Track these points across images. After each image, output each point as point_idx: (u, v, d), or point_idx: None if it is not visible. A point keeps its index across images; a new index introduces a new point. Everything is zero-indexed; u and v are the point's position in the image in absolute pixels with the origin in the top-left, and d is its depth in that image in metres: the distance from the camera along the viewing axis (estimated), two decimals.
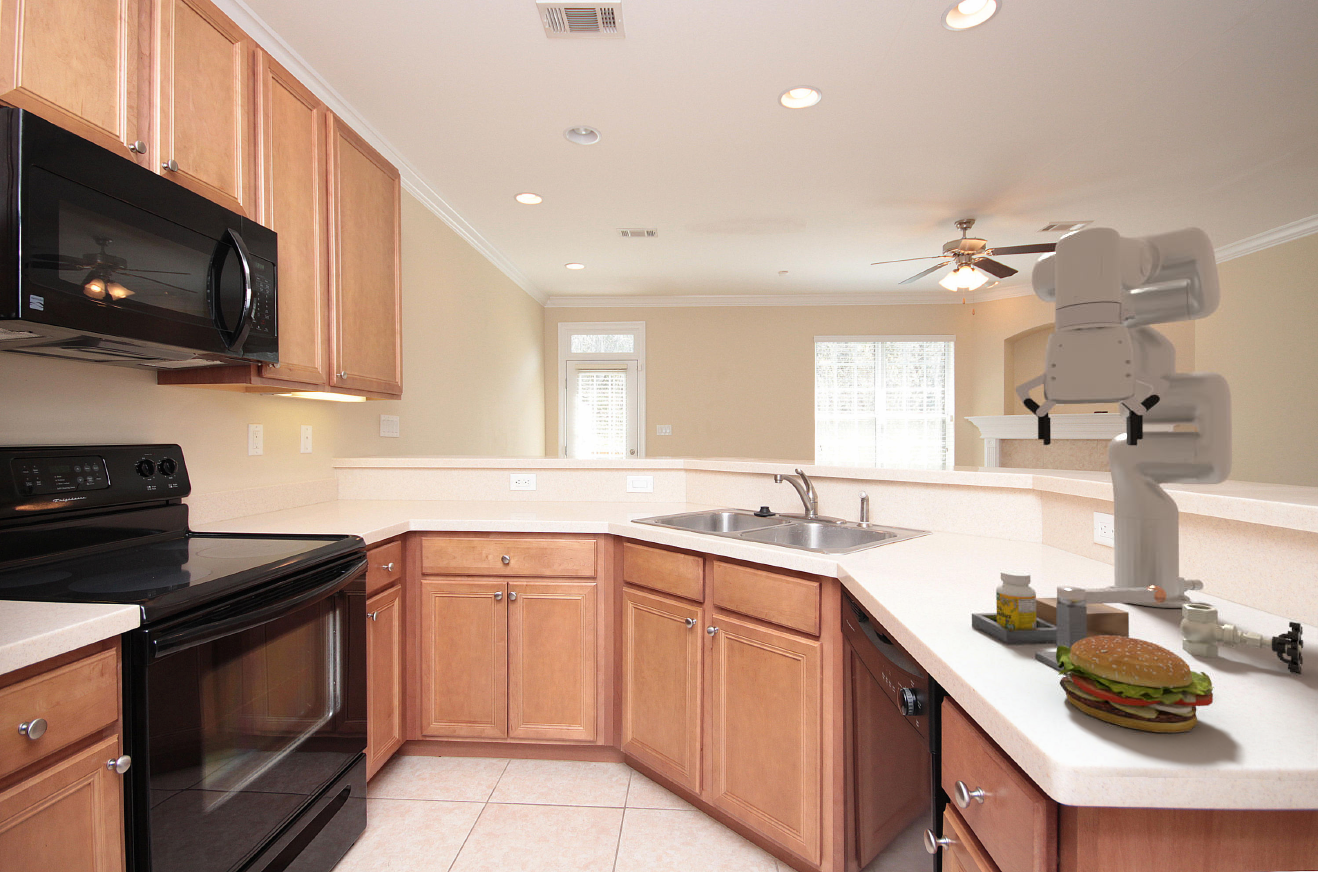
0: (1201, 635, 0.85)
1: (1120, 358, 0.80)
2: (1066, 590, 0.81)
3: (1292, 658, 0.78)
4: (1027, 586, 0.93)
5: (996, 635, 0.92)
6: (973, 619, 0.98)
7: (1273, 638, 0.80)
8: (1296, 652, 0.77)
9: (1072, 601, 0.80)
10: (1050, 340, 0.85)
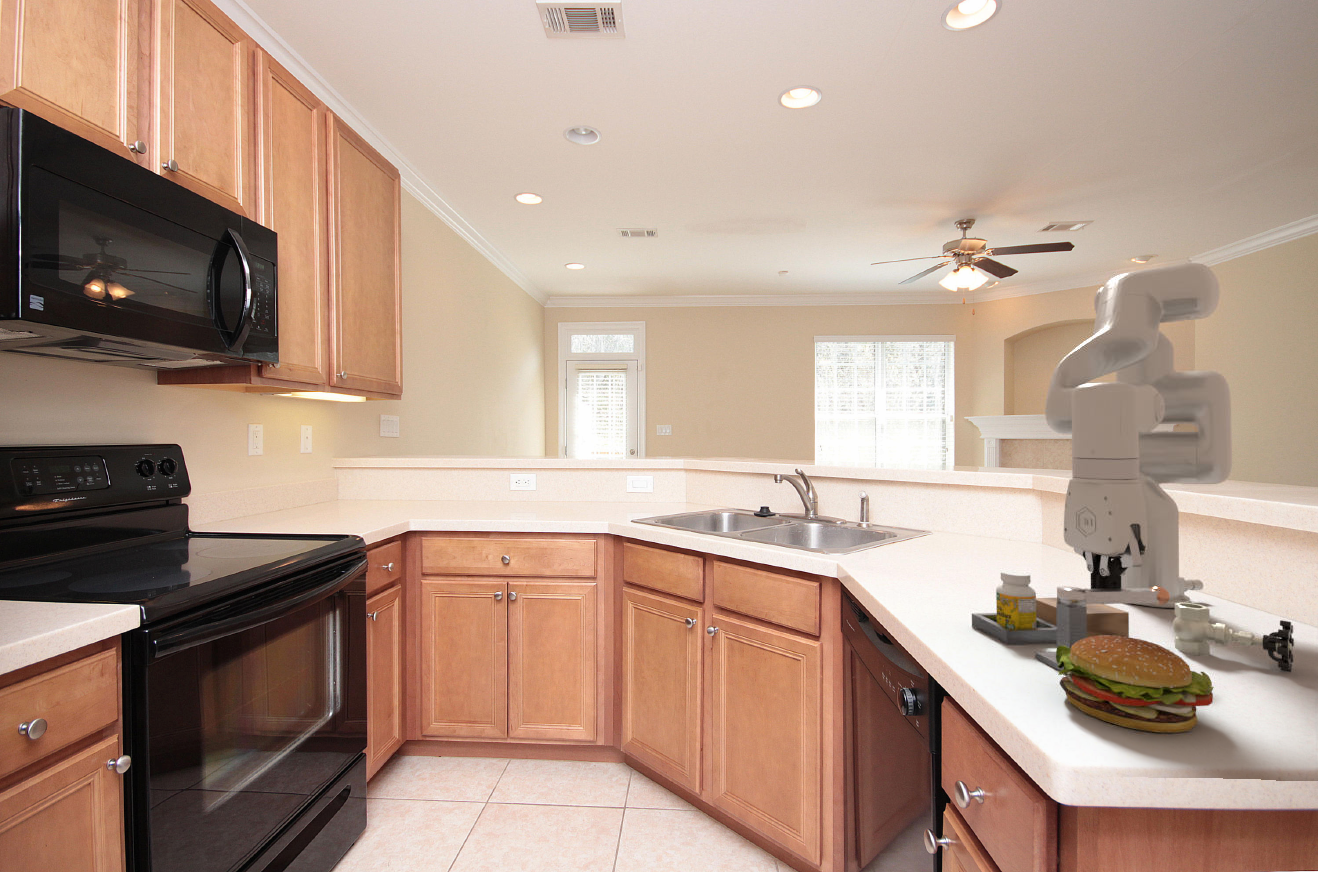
0: (1193, 633, 0.85)
1: None
2: (1066, 590, 0.81)
3: (1282, 656, 0.78)
4: (1027, 586, 0.93)
5: (996, 635, 0.92)
6: (973, 619, 0.98)
7: (1264, 636, 0.81)
8: (1286, 650, 0.77)
9: (1071, 601, 0.80)
10: (1139, 491, 0.80)
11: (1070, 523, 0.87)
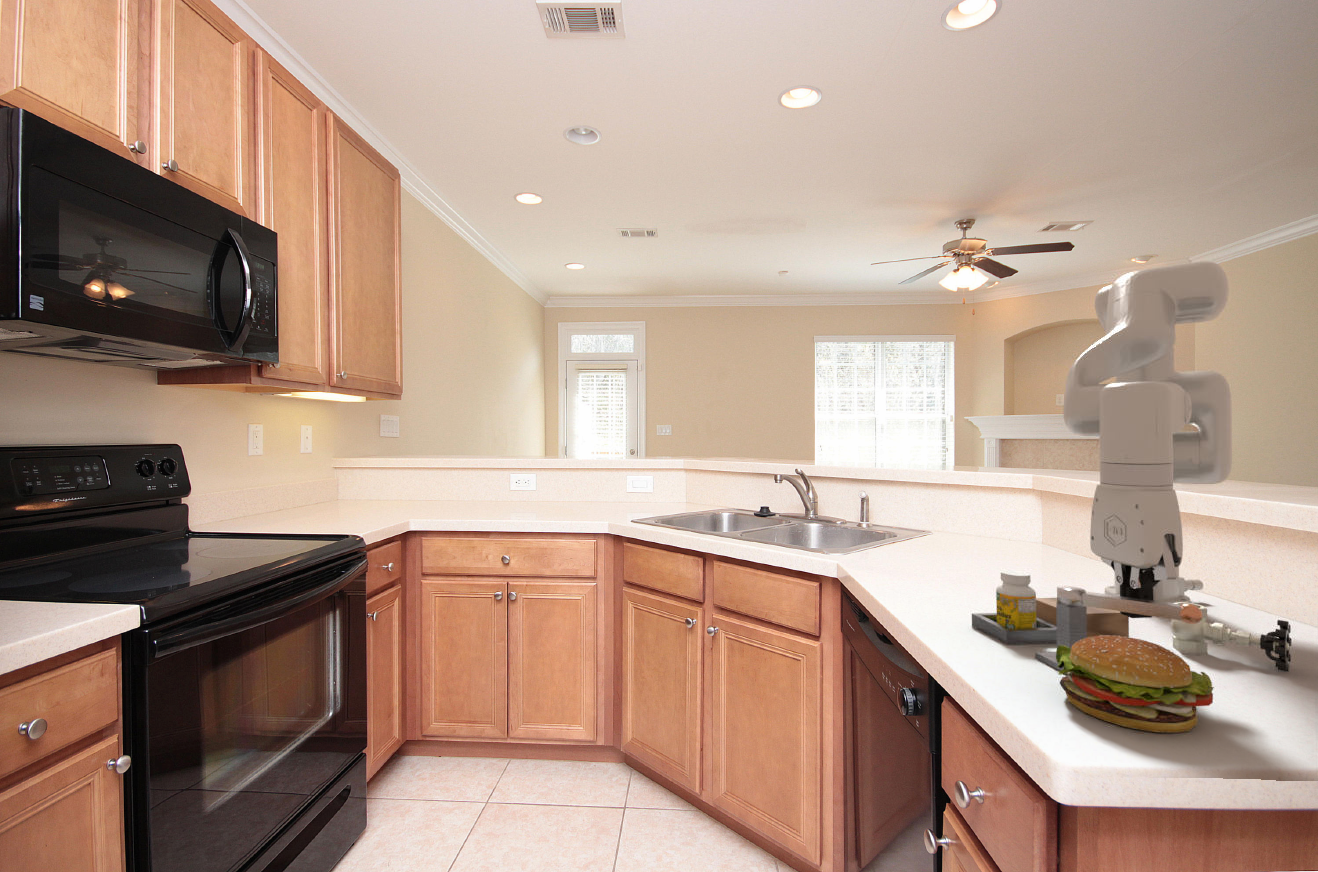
0: (1190, 633, 0.85)
1: None
2: (1060, 588, 0.82)
3: (1280, 656, 0.78)
4: (1027, 586, 0.93)
5: (996, 635, 0.92)
6: (973, 619, 0.98)
7: (1261, 636, 0.81)
8: (1284, 650, 0.77)
9: (1061, 599, 0.81)
10: (1174, 499, 0.75)
11: (1097, 531, 0.82)
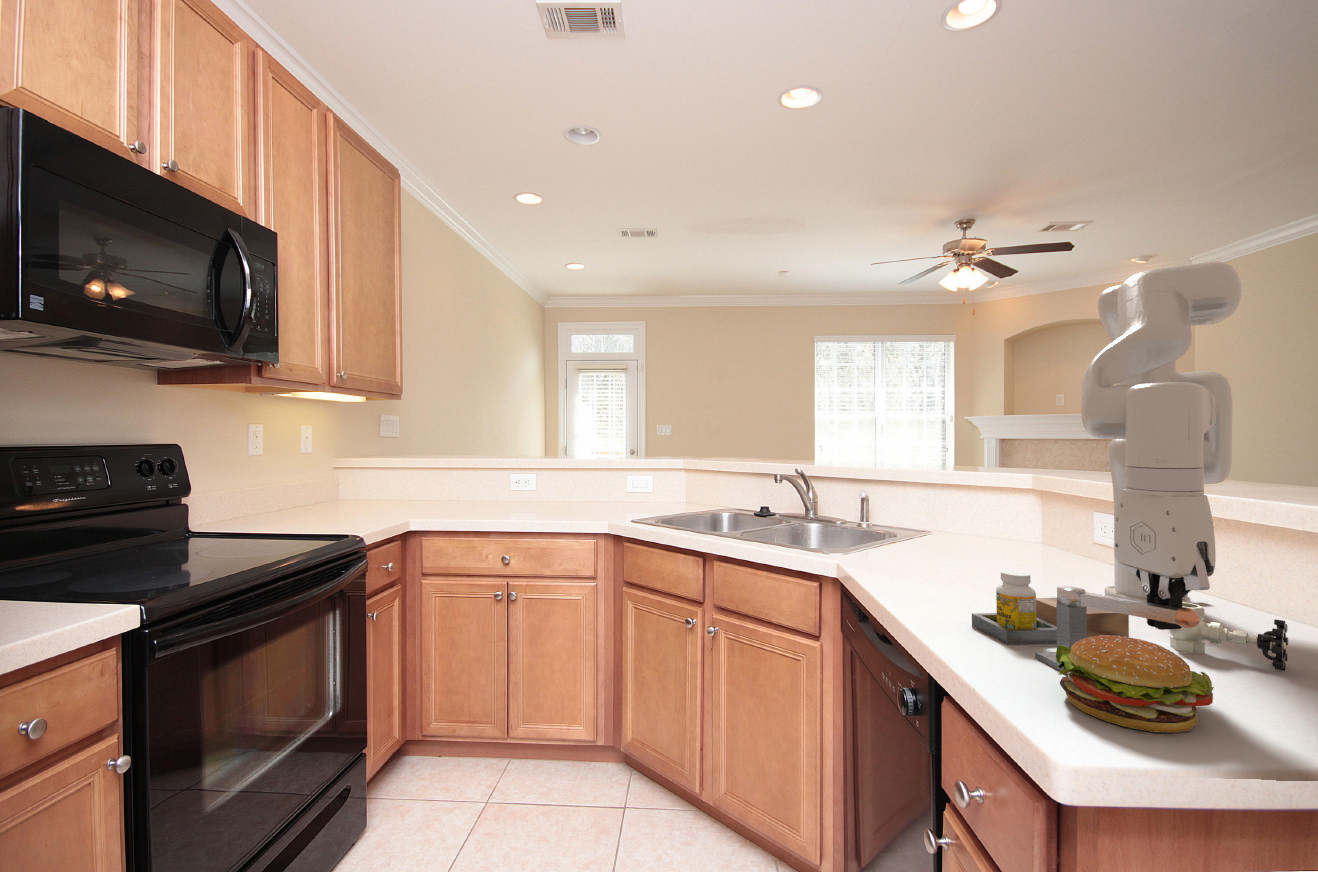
0: (1188, 632, 0.86)
1: None
2: (1060, 588, 0.82)
3: (1277, 655, 0.79)
4: (1027, 586, 0.93)
5: (996, 635, 0.92)
6: (973, 619, 0.98)
7: (1258, 635, 0.81)
8: (1280, 649, 0.78)
9: (1059, 598, 0.82)
10: (1206, 505, 0.71)
11: (1123, 539, 0.79)
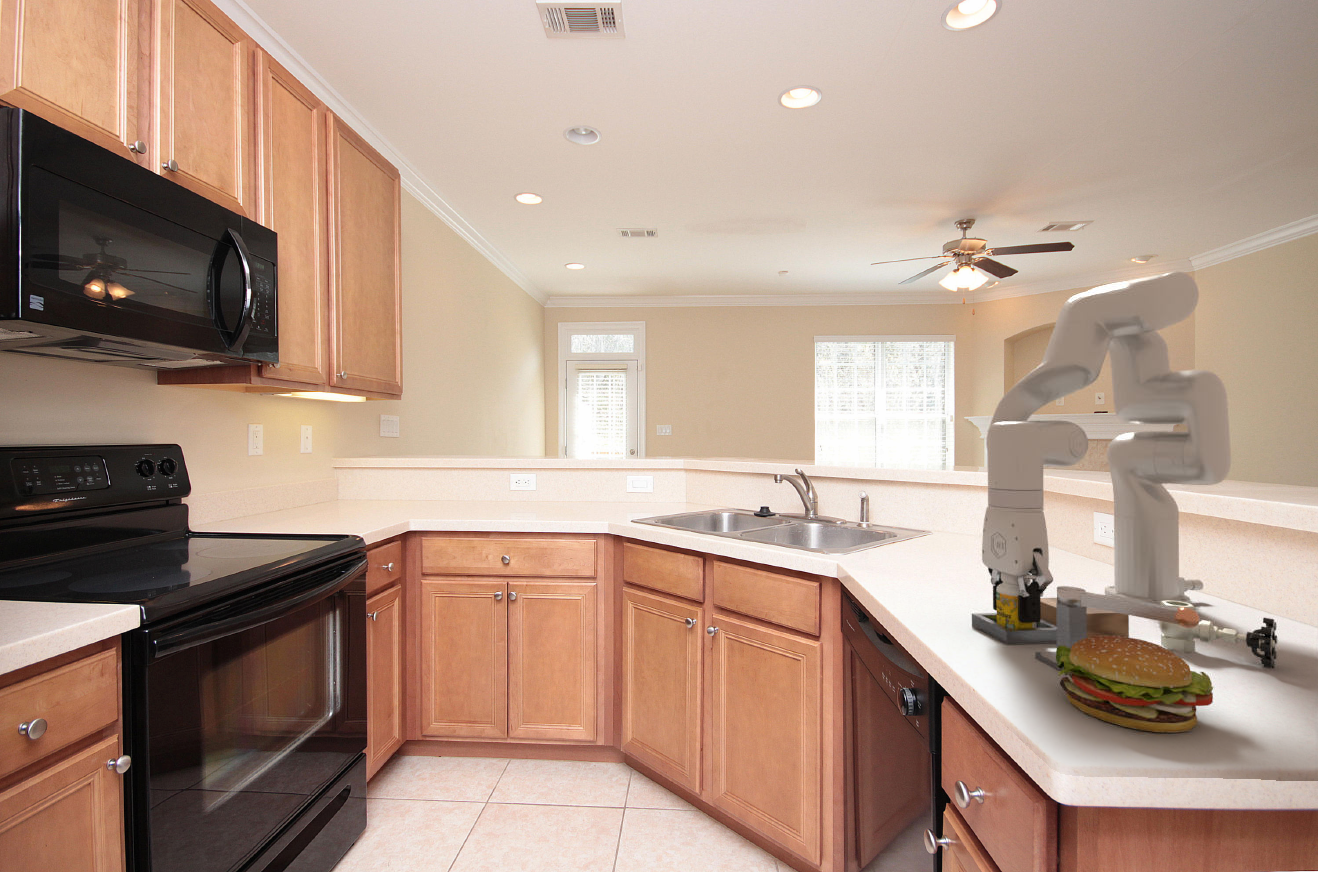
0: (1178, 630, 0.86)
1: None
2: (1060, 588, 0.82)
3: (1265, 653, 0.80)
4: None
5: (996, 635, 0.92)
6: (973, 619, 0.98)
7: (1248, 633, 0.82)
8: (1269, 647, 0.78)
9: (1059, 598, 0.82)
10: (1042, 519, 0.90)
11: (986, 546, 0.97)
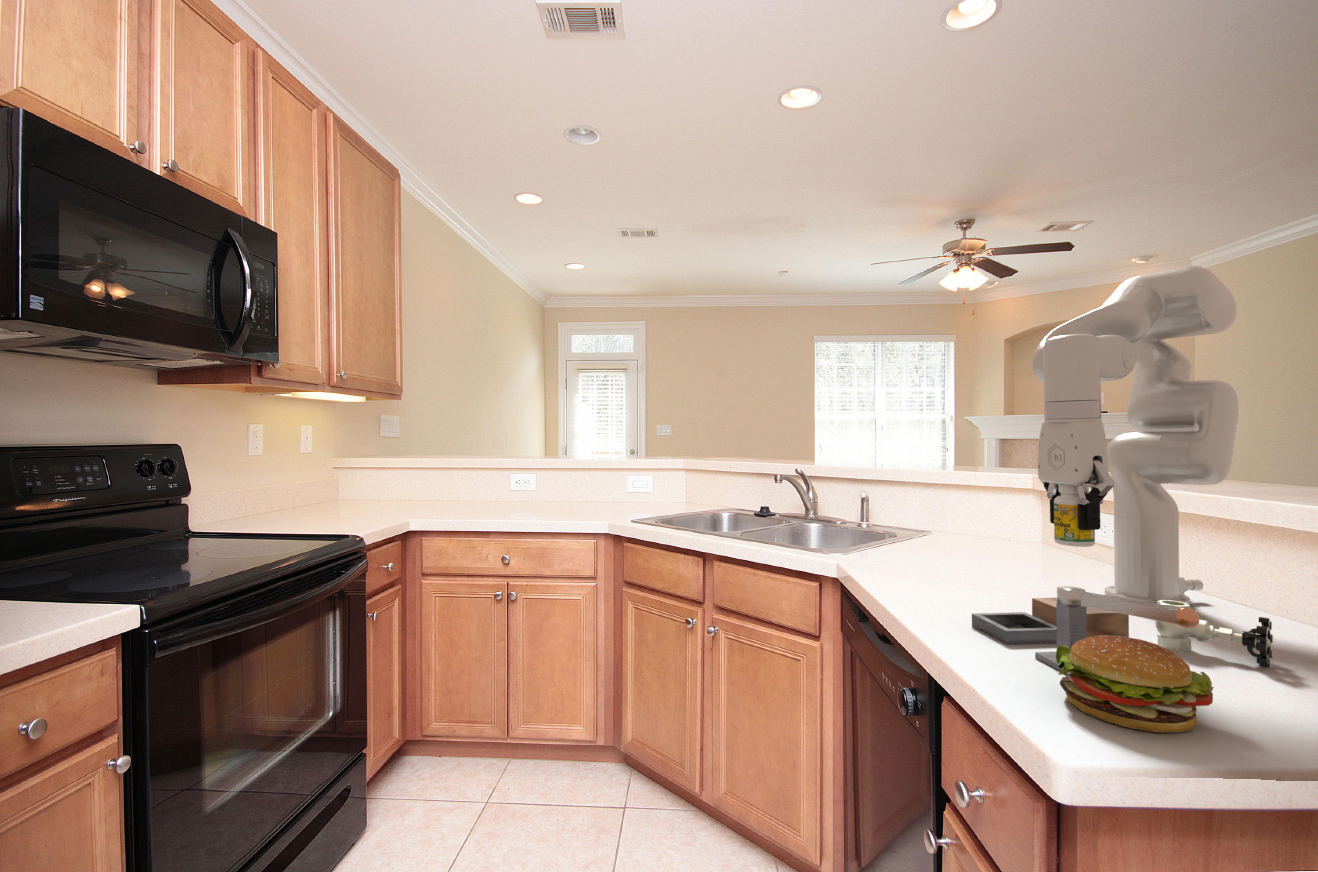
0: (1174, 630, 0.87)
1: None
2: (1060, 588, 0.82)
3: (1261, 652, 0.80)
4: None
5: (996, 635, 0.92)
6: (973, 619, 0.98)
7: (1243, 633, 0.82)
8: (1264, 646, 0.79)
9: (1059, 598, 0.82)
10: (1101, 428, 0.92)
11: (1043, 460, 0.99)
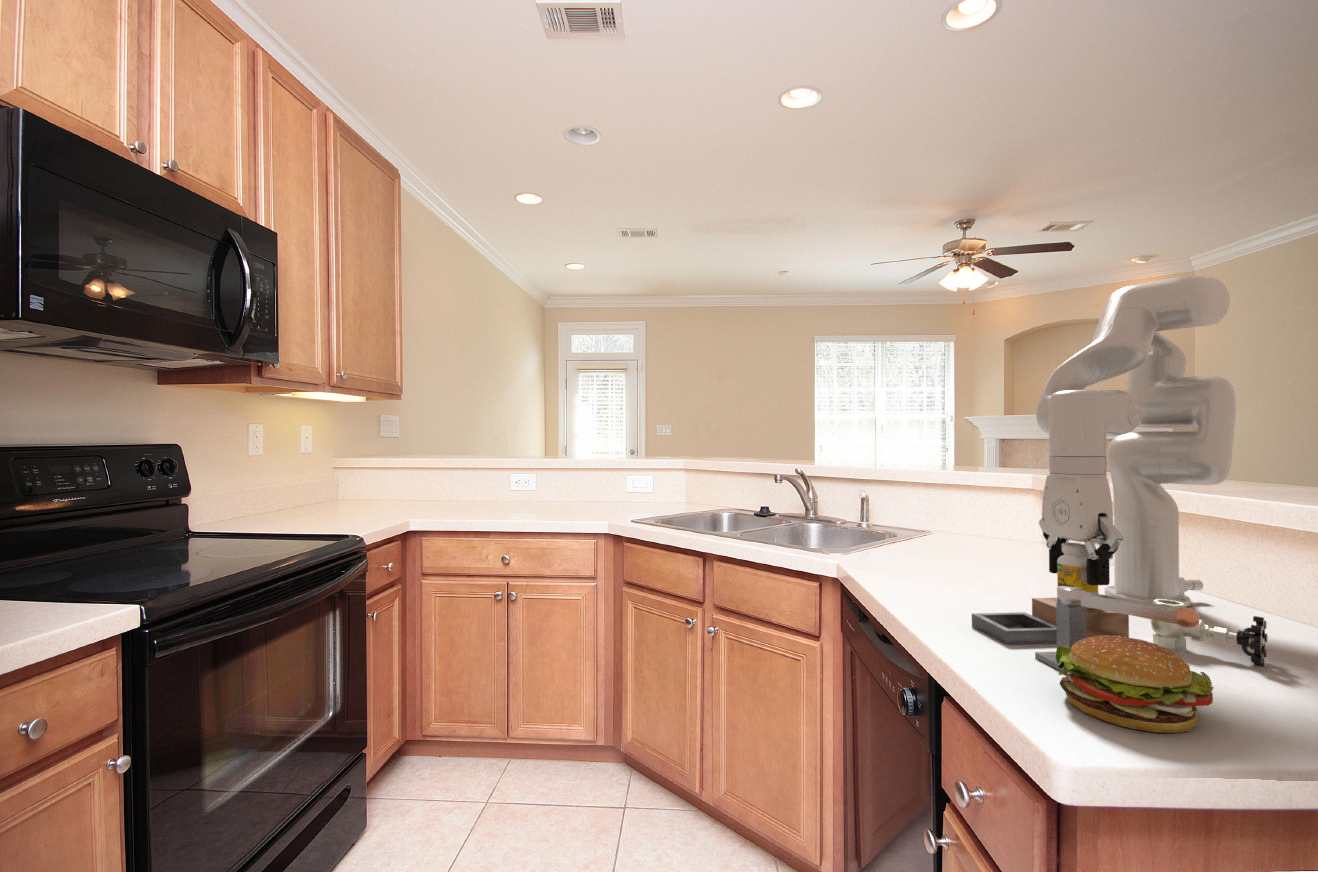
0: (1169, 629, 0.87)
1: None
2: (1060, 588, 0.82)
3: (1255, 651, 0.80)
4: (1089, 557, 0.95)
5: (996, 635, 0.92)
6: (973, 619, 0.98)
7: (1238, 632, 0.83)
8: (1259, 645, 0.79)
9: (1059, 598, 0.82)
10: (1106, 485, 0.92)
11: (1047, 513, 0.99)
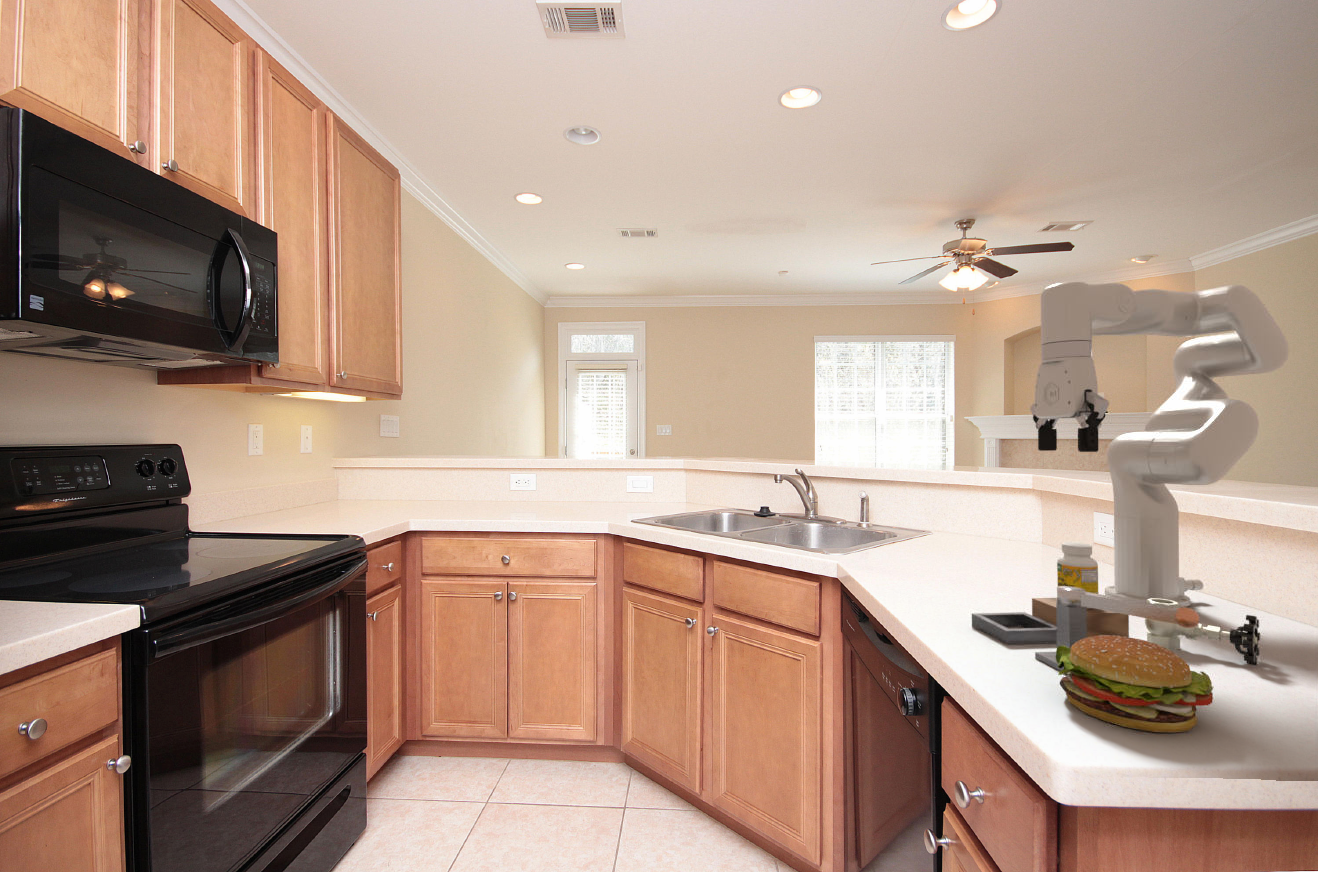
0: (1163, 628, 0.88)
1: None
2: (1060, 588, 0.82)
3: (1248, 650, 0.81)
4: (1089, 557, 0.95)
5: (996, 635, 0.92)
6: (973, 619, 0.98)
7: (1231, 631, 0.83)
8: (1251, 644, 0.80)
9: (1059, 598, 0.82)
10: (1092, 365, 1.02)
11: (1039, 399, 1.10)
